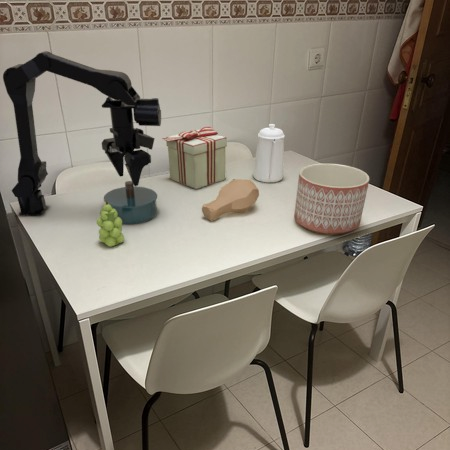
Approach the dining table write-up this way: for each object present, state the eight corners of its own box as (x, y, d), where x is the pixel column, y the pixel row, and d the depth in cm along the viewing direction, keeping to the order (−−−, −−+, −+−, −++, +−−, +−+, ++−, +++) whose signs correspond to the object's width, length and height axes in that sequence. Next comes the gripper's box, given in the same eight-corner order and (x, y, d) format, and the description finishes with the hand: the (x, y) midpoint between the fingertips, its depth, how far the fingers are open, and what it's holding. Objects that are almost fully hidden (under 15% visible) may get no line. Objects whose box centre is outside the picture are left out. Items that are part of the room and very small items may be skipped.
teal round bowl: (103, 224, 130) (101, 207, 127) (112, 203, 142) (110, 188, 139) (154, 224, 130) (153, 207, 127) (158, 203, 142) (157, 188, 139)
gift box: (192, 167, 171) (190, 120, 161) (228, 179, 161) (229, 129, 151) (158, 178, 160) (155, 128, 150) (195, 192, 151) (194, 140, 141)
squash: (264, 208, 142) (268, 183, 135) (218, 234, 132) (219, 209, 125) (240, 192, 147) (242, 168, 140) (194, 216, 137) (194, 191, 131)
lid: (99, 210, 127) (96, 192, 124) (109, 189, 139) (106, 173, 136) (154, 210, 127) (153, 192, 124) (159, 189, 140) (158, 173, 137)
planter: (281, 215, 137) (286, 167, 128) (333, 206, 144) (341, 160, 135) (317, 243, 123) (325, 191, 114) (372, 231, 129) (384, 181, 121)
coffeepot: (254, 191, 153) (257, 134, 142) (251, 166, 173) (254, 115, 162) (286, 192, 153) (292, 135, 142) (279, 167, 173) (284, 116, 162)
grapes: (97, 248, 118) (90, 204, 111) (102, 236, 123) (95, 194, 116) (122, 248, 118) (117, 204, 111) (126, 236, 124) (121, 194, 116)
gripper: (166, 128, 119) (169, 185, 128) (133, 114, 131) (138, 166, 140) (128, 134, 113) (134, 193, 122) (97, 119, 125) (104, 173, 134)
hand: (128, 180), depth 130 cm, fingers open, 9 cm apart
